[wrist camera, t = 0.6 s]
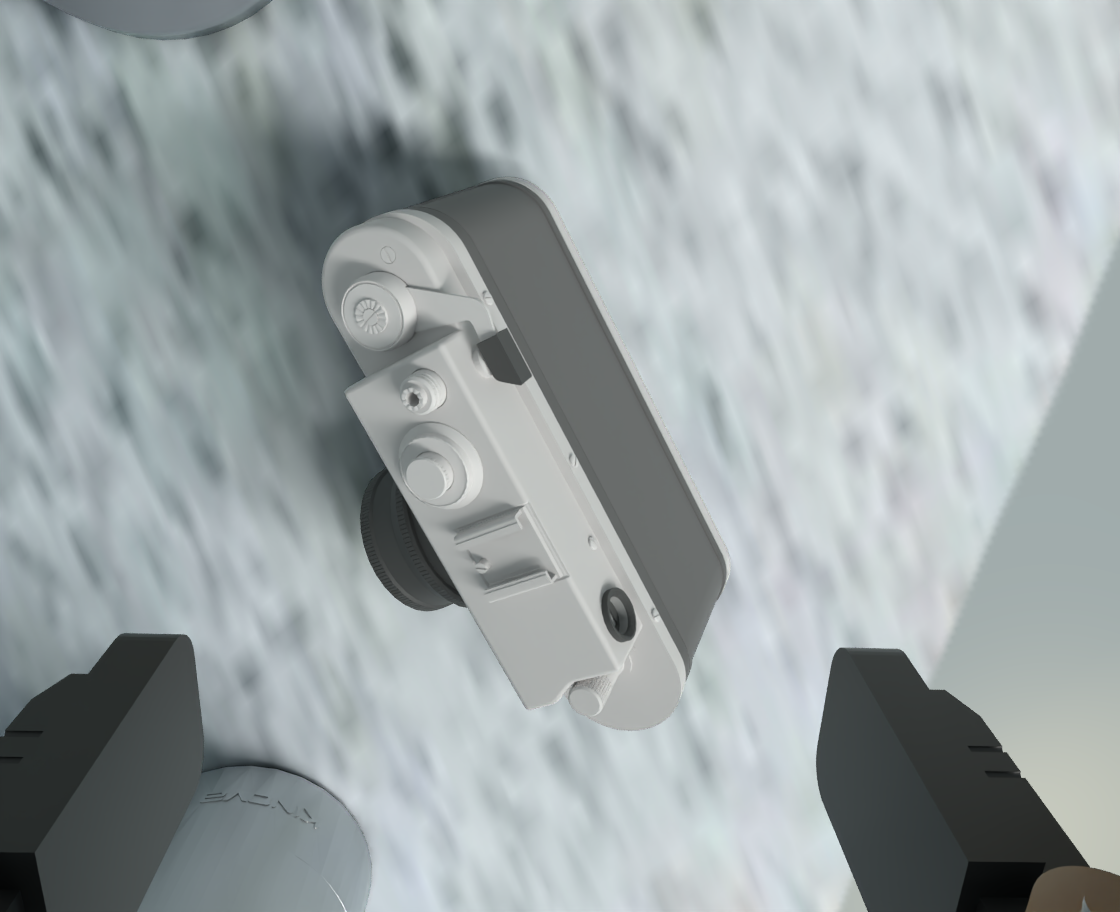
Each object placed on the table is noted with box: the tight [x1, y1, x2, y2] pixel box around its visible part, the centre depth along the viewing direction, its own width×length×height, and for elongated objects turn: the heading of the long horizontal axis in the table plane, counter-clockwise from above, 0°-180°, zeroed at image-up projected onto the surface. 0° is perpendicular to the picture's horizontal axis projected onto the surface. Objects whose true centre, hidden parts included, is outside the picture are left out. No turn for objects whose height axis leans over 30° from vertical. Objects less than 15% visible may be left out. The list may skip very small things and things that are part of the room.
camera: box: [322, 177, 731, 731], centre depth 28 cm, size 9×16×10 cm, turn 29°
